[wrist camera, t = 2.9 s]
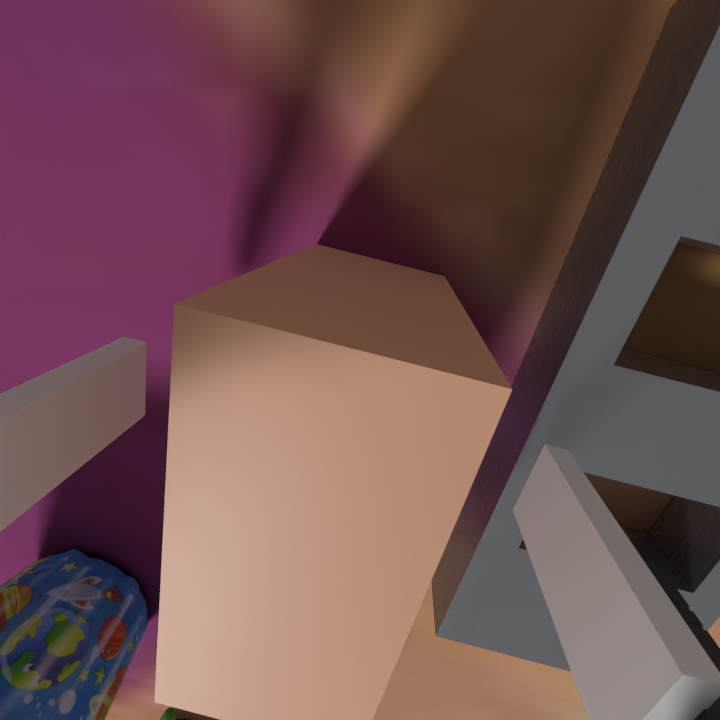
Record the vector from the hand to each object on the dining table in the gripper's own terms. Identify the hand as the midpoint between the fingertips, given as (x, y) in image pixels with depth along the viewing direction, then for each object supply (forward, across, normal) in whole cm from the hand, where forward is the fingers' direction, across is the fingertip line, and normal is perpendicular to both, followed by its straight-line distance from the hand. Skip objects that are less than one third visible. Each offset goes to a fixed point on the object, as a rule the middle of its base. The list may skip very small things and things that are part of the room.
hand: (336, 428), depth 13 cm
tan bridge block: (+4, 0, 0) cm, 4 cm away
